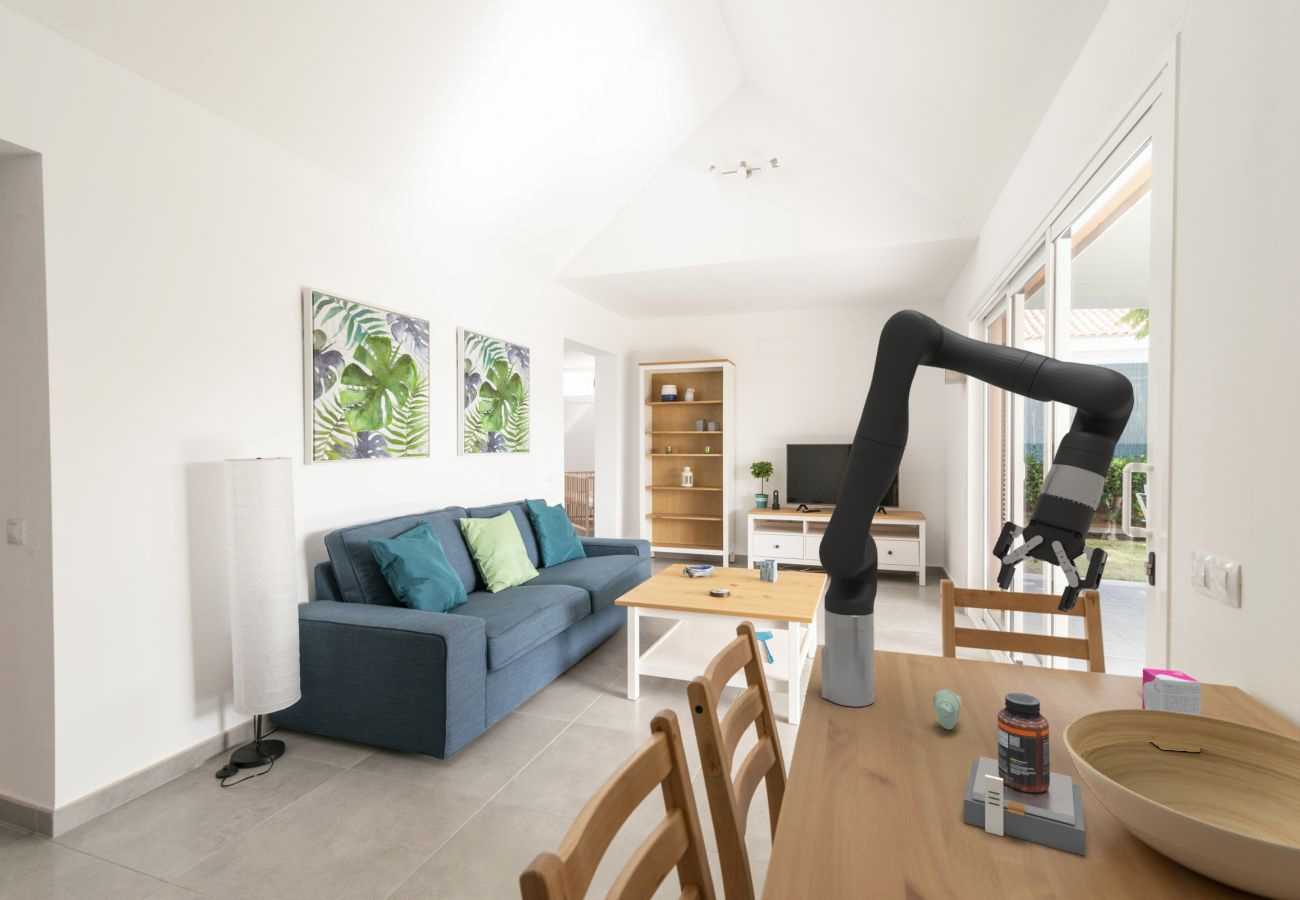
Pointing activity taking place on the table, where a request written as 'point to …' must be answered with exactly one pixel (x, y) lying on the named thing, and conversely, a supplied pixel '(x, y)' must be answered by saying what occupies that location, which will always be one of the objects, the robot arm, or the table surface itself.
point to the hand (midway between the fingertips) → (1031, 599)
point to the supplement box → (1171, 692)
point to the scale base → (1022, 817)
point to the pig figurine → (947, 708)
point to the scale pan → (1030, 795)
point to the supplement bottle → (1023, 744)
